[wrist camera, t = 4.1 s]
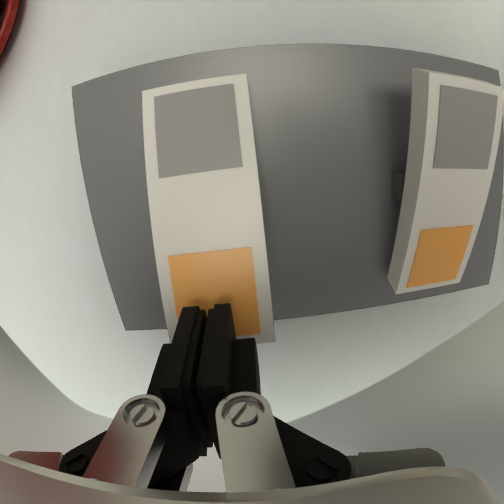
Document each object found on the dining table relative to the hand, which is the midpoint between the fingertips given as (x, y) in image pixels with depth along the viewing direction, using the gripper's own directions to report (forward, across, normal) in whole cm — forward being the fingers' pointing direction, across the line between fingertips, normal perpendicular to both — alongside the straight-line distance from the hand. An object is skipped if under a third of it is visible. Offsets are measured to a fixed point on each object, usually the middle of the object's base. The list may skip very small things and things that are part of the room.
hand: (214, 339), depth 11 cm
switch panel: (+7, -5, -4) cm, 10 cm away
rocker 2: (+2, -10, -4) cm, 11 cm away
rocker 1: (+2, 0, -4) cm, 5 cm away
